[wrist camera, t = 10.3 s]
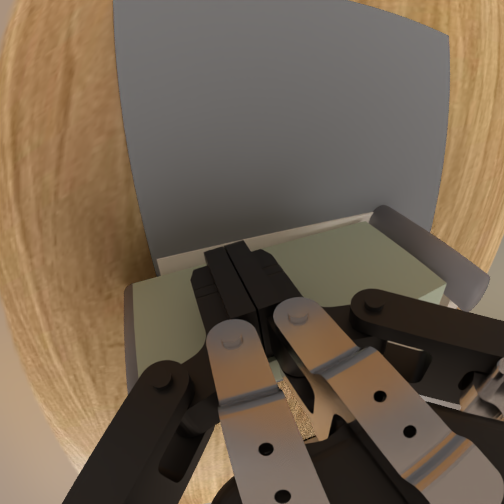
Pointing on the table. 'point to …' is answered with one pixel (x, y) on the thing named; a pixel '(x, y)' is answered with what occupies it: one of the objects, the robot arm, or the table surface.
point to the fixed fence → (434, 259)
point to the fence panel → (300, 273)
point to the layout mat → (276, 119)
